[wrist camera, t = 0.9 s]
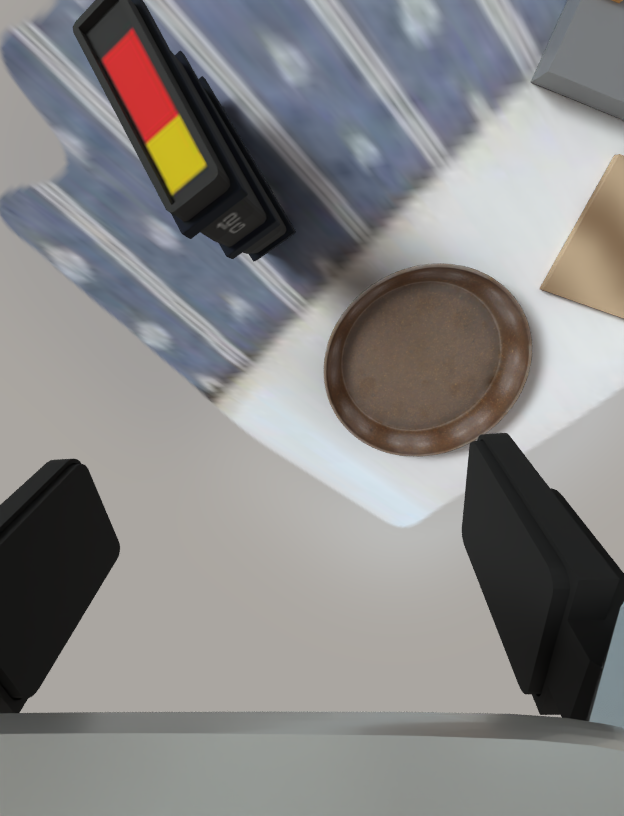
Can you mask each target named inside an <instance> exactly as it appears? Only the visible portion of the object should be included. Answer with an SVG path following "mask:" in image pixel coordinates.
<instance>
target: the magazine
mask: <svg viewBox="0 0 624 816" xmlns="http://www.w3.org/2000/svg"><path fill="white" fill-rule="evenodd" d="M73 32H74V35H75V36H76V38H77V40H78V42H79V44H80V46H81V48H82V50H83V52H84V54H85V56H86V57H87V59H88V61H89V63H90V65H91V67H92V69H93V71H94V73H95V75H96V77H97V78H98V80H99V82H100V84H101V86H102V88H103V90H104V92H105V94H106V96H107V98H108V99H109V101H110V103H111V105H112V107H113V109H114V111H115V113H116V115H117V117H118V119H119V120H120V122H121V124H122V126H123V128H124V130H125V132H126V134H127V136H128V138H129V140H130V141H131V143H132V145H133V147H134V149H135V151H136V153H137V155H138V157H139V159H140V161H141V162H142V164H143V166H144V168H145V170H146V172H147V174H148V176H149V178H150V180H151V182H152V183H153V185H154V187H155V189H156V191H157V193H158V195H159V197H160V199H161V201H162V203H163V204H164V206H165V208H166V210H167V211H169V212H170V213H171V214H172V216H173V218H174V220H175V222H176V224H177V225H178V227H179V229H180V231H181V233H182V234H183V235H184V236H186V237H188V238H190V239H192V238H193V237H194V236H195V235H197V234H198V233H199V232H201V233H202V234H204V235H206V236H207V237H209V238H210V239H212V240H213V241H216V242H218V243H219V244H220V246H221V248H222V250H223V251H224V253H225V255H226V256H227V257H229V258H231V259H234V258H235V257H237V256H238V255H239V254H241V253H242V252H243V253H246V254H249V255H250V257H251V258H252V260H253V261H256V260H258V259H259V258H261V257H262V256H264V255H265V254H266V253H268V252H269V251H271V250H272V249H273V248H275V247H276V246H278V245H279V244H281V243H282V242H283V241H285V240H286V239H288V238H289V237H290V236H292V235H293V234H295V233H296V231H295V230H294V228H293V226H292V225H291V223H290V221H289V220H288V218H287V216H286V214H285V213H284V211H283V209H282V208H281V206H280V204H279V203H278V201H277V199H276V198H275V196H274V194H273V192H272V191H271V189H270V187H269V186H268V184H267V182H266V181H265V179H264V177H263V176H262V174H261V172H260V171H259V169H258V167H257V165H256V164H255V162H254V160H253V159H252V157H251V155H250V154H249V152H248V150H247V149H246V147H245V145H244V144H243V142H242V140H241V138H240V137H239V135H238V133H237V132H236V130H235V128H234V127H233V125H232V123H231V122H230V120H229V118H228V117H227V115H226V113H225V111H224V110H223V108H222V106H221V105H220V103H219V101H218V100H217V98H216V96H215V95H214V93H213V91H212V89H211V88H210V86H209V84H208V83H207V81H206V79H205V78H204V77H203V76H202V77H201V78H199V79H198V78H197V76H196V74H195V73H194V71H193V69H192V67H191V65H190V64H189V62H188V60H187V58H186V57H185V55H184V54H183V53H182V52H181V51H179V52H178V53H177V54H176V55H174V54H173V53H172V52H171V51H170V49H169V47H168V45H167V43H166V41H165V40H164V38H163V36H162V34H161V32H160V30H159V29H158V27H157V25H156V23H155V21H154V19H153V17H152V16H151V14H150V12H149V10H148V8H147V6H146V5H145V3H144V2H143V1H142V0H95V1H94V2H93V3H92V5H91V6H90V7H89V8H88V9H87V10H86V11H85V12H84V13H83V14H82V15H81V16H80V17H79V19H78V20H77V21H76V22H75V24H74V26H73Z"/></svg>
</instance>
